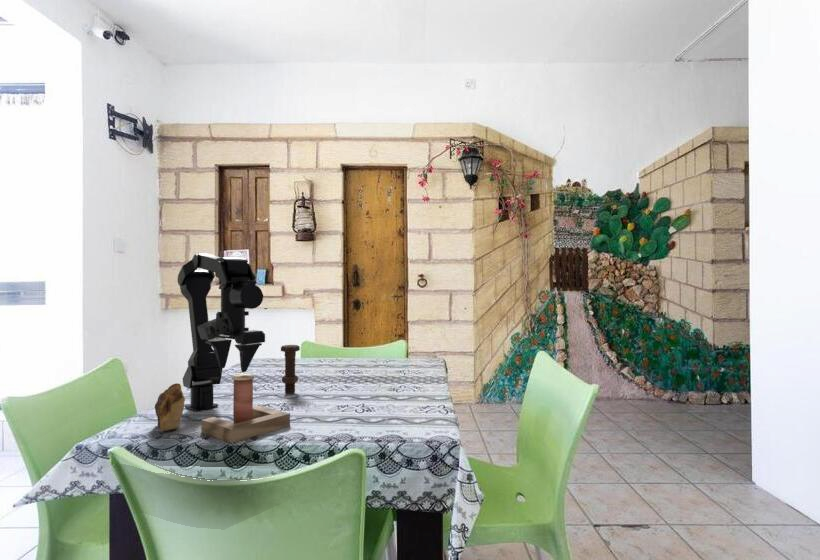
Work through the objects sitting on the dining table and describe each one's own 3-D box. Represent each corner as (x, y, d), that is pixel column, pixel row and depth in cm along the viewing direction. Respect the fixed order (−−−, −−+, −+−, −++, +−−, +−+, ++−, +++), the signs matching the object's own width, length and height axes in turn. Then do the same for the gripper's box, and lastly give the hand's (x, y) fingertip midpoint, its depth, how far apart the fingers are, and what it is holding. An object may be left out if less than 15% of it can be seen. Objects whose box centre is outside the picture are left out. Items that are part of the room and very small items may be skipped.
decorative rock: (186, 433, 110) (186, 386, 111) (156, 437, 107) (157, 389, 107) (180, 420, 121) (181, 377, 121) (153, 423, 118) (154, 380, 118)
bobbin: (227, 426, 116) (227, 374, 116) (254, 422, 119) (254, 372, 119) (230, 433, 110) (230, 379, 110) (259, 429, 113) (259, 377, 113)
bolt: (293, 395, 147) (293, 347, 147) (278, 395, 148) (278, 346, 148) (301, 391, 153) (301, 344, 153) (286, 390, 154) (287, 344, 154)
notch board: (201, 432, 111) (201, 419, 111) (259, 417, 124) (260, 405, 124) (231, 443, 104) (231, 429, 104) (289, 425, 116) (290, 413, 116)
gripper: (182, 307, 118) (182, 370, 118) (225, 309, 107) (225, 379, 107) (223, 306, 127) (222, 364, 127) (266, 308, 116) (266, 372, 116)
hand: (232, 370), depth 119 cm, fingers open, 9 cm apart
